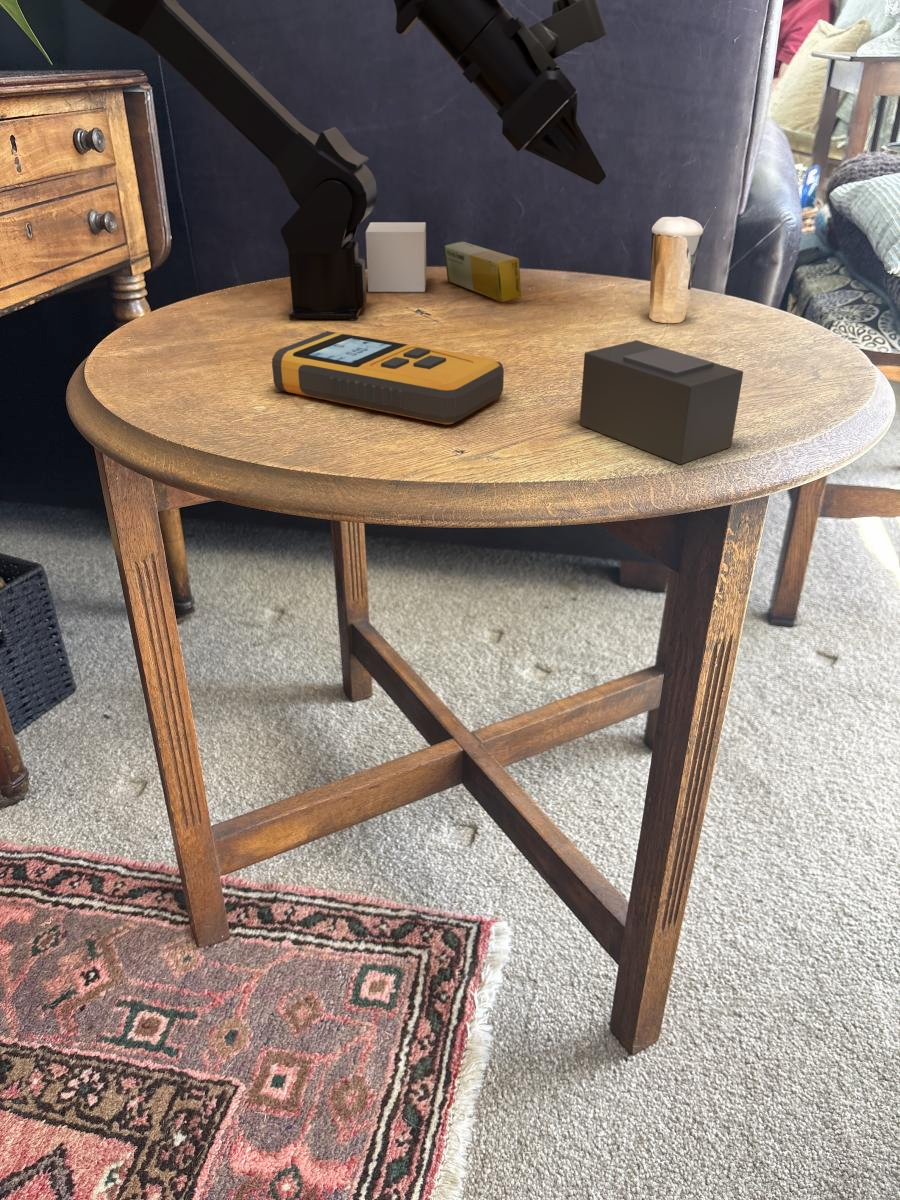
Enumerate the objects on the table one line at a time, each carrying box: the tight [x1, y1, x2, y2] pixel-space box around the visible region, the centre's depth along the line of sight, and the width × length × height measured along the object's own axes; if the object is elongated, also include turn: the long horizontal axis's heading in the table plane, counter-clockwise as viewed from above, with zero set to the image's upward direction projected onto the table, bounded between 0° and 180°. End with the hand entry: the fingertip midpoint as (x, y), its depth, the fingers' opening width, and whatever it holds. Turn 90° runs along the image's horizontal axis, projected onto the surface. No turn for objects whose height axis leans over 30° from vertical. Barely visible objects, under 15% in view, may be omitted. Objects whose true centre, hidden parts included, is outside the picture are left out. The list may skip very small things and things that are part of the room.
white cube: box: [365, 221, 427, 293], centre depth 100 cm, size 6×6×6 cm
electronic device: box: [271, 330, 505, 425], centre depth 69 cm, size 8×16×3 cm, turn 59°
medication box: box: [443, 241, 523, 303], centre depth 98 cm, size 12×3×4 cm, turn 27°
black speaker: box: [578, 339, 744, 465], centre depth 61 cm, size 5×5×9 cm
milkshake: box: [648, 207, 716, 324], centre depth 86 cm, size 5×5×10 cm
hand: (602, 180), depth 83 cm, fingers closed
